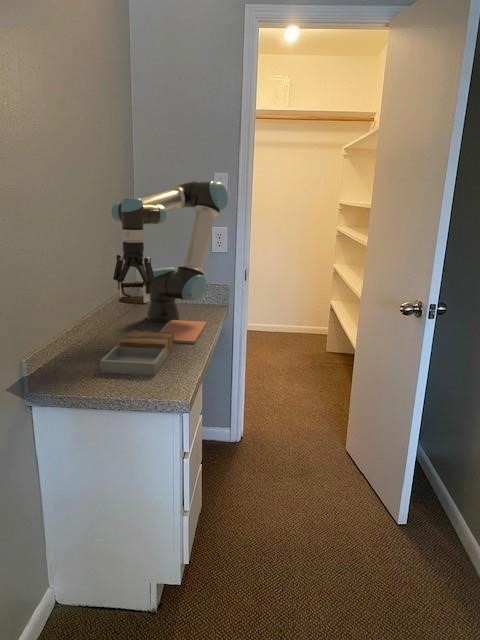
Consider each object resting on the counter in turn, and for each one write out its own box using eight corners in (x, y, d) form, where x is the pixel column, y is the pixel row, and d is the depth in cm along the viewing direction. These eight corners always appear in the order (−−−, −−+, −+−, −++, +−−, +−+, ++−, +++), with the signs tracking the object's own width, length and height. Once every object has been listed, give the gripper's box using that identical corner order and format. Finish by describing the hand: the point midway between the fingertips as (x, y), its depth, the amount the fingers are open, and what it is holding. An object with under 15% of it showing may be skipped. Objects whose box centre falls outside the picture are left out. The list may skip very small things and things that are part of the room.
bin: (117, 355, 160) (116, 345, 159) (167, 358, 159) (166, 347, 158) (100, 372, 145) (99, 360, 144) (155, 375, 144) (155, 363, 143)
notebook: (169, 323, 202) (169, 319, 201) (206, 325, 200) (206, 321, 199) (152, 343, 176) (152, 338, 175) (194, 345, 174) (194, 340, 173)
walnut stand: (132, 342, 174) (132, 330, 172) (173, 344, 173) (173, 332, 171) (120, 355, 160) (119, 342, 159) (164, 357, 159) (164, 344, 158)
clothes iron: (148, 306, 169) (140, 280, 165) (118, 311, 169) (110, 286, 166) (151, 300, 175) (144, 275, 172) (123, 305, 176) (115, 281, 172)
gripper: (101, 239, 166) (104, 298, 172) (153, 244, 158) (154, 305, 163) (114, 238, 173) (116, 295, 179) (165, 242, 164) (165, 302, 170)
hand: (134, 300), depth 171 cm, fingers closed on clothes iron, 10 cm apart
